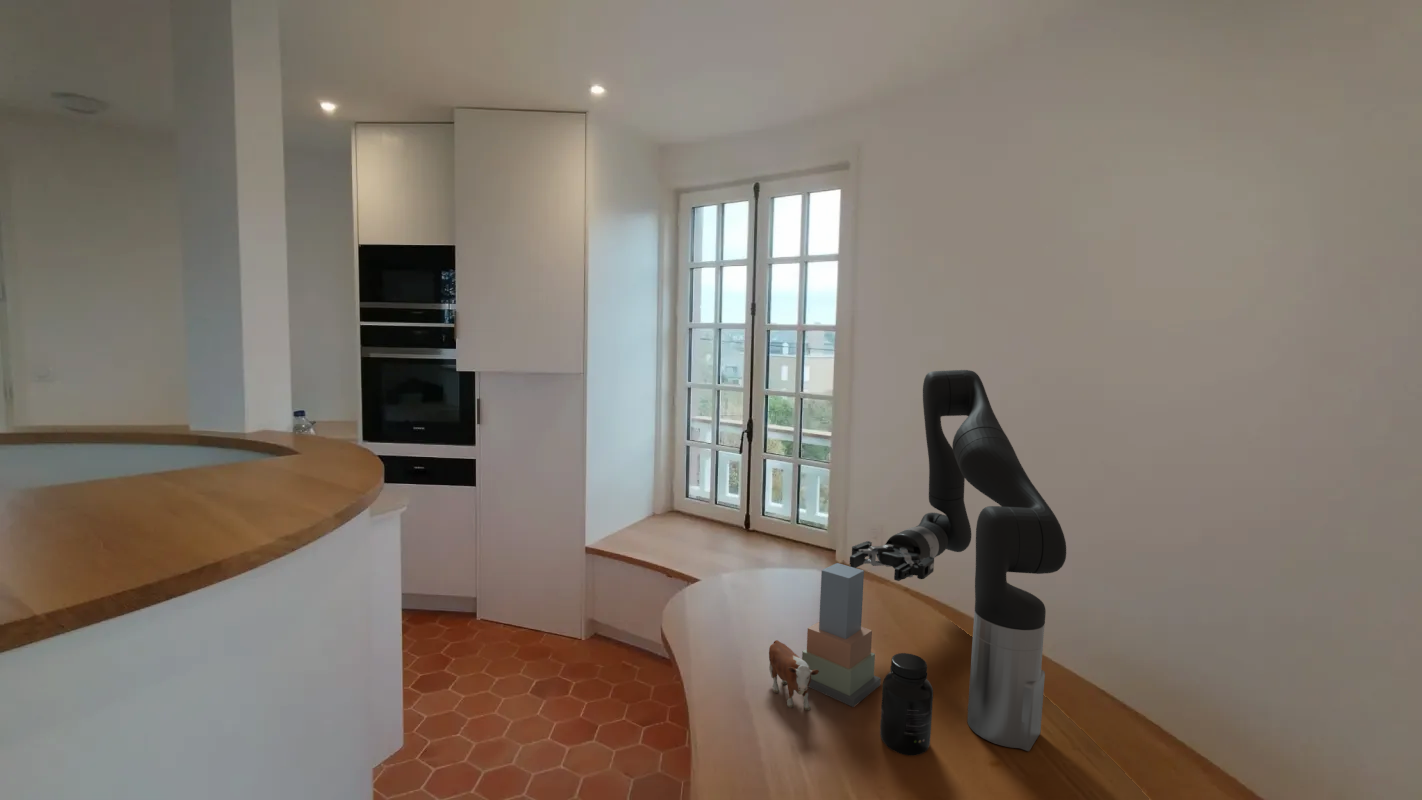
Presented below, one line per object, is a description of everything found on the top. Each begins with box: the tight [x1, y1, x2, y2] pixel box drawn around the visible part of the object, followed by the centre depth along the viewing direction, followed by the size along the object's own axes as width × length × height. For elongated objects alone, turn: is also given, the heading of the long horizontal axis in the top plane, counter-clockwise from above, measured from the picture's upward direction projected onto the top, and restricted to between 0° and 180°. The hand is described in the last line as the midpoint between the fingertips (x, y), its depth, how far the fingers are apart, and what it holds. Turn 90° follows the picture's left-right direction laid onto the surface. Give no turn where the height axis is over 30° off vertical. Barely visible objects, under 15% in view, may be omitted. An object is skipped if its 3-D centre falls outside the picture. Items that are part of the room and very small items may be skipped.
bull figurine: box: [768, 639, 819, 711], centre depth 97 cm, size 4×13×8 cm, turn 15°
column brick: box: [818, 562, 865, 639], centre depth 102 cm, size 5×5×10 cm
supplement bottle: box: [879, 652, 934, 757], centre depth 87 cm, size 7×7×12 cm
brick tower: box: [801, 621, 882, 708], centre depth 102 cm, size 11×9×9 cm
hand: (873, 568), depth 110 cm, fingers open, 8 cm apart
